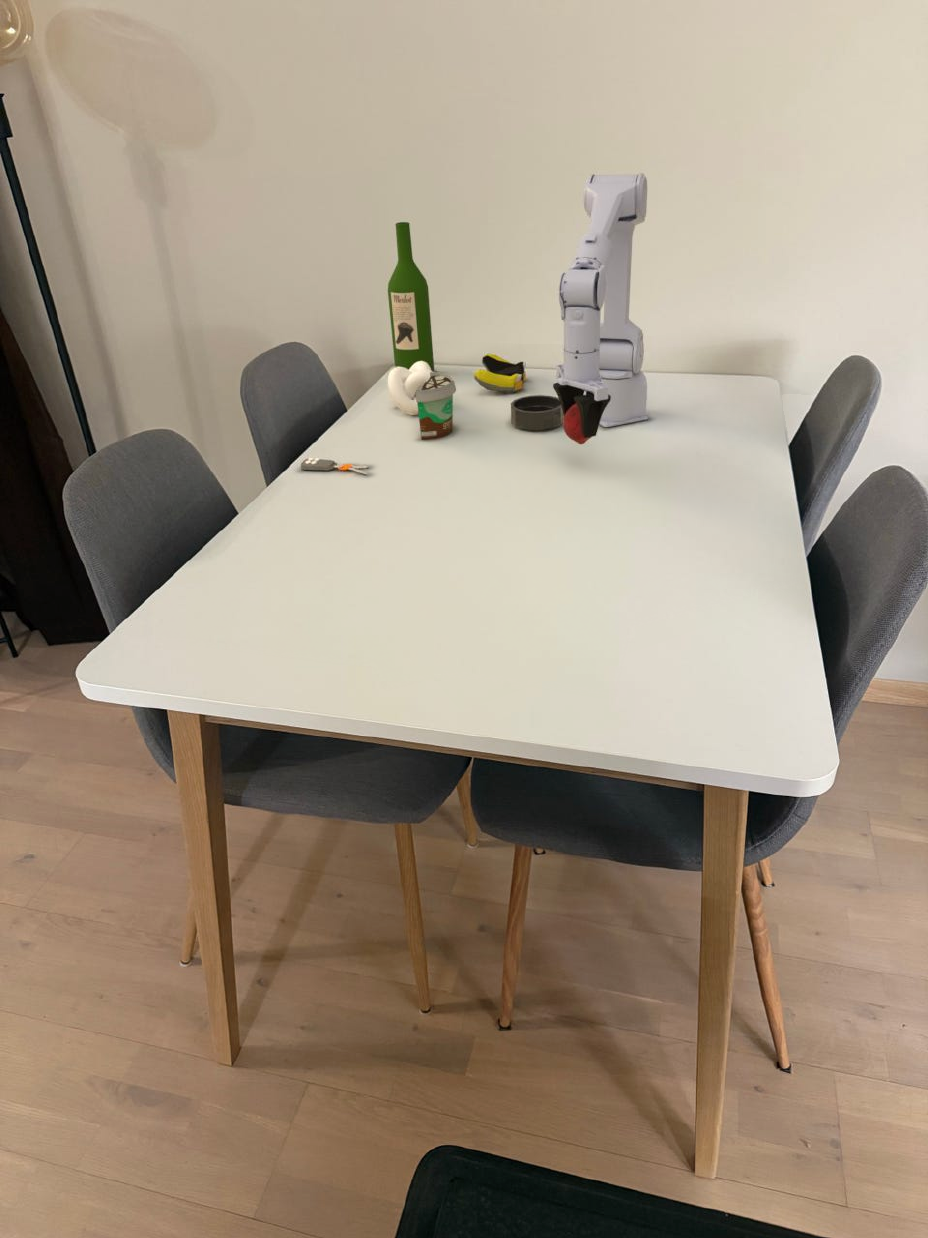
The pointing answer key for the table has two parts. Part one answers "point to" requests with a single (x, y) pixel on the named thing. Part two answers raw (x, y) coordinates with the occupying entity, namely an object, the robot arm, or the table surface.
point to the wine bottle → (409, 307)
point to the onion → (574, 425)
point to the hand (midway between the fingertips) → (580, 430)
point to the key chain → (327, 465)
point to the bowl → (536, 412)
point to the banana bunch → (500, 374)
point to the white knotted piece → (408, 385)
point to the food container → (436, 406)
